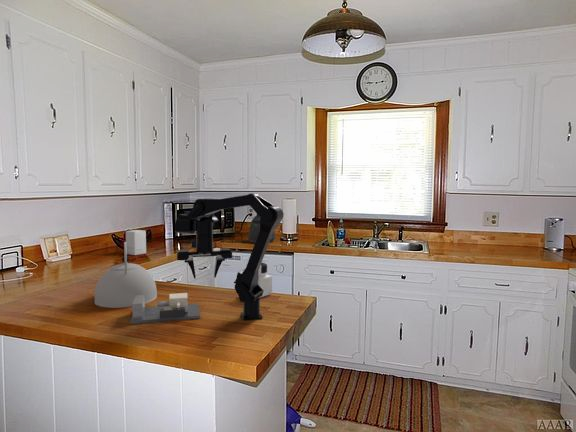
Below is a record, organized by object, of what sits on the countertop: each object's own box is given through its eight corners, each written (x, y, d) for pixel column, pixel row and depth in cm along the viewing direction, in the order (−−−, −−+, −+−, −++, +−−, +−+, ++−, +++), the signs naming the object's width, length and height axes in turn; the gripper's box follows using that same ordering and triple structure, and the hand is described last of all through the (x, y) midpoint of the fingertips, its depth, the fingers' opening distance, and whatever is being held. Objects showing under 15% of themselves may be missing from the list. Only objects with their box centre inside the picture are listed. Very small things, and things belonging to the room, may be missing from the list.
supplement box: (146, 253, 251) (146, 230, 250) (134, 255, 243) (134, 231, 242) (137, 252, 256) (137, 229, 254) (125, 254, 248) (125, 230, 247)
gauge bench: (200, 318, 130) (200, 300, 130) (130, 324, 124) (129, 306, 124) (198, 305, 144) (198, 290, 143) (135, 310, 138) (134, 294, 137)
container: (258, 290, 165) (258, 260, 164) (272, 294, 160) (272, 263, 159) (245, 294, 159) (245, 263, 158) (259, 298, 154) (259, 266, 153)
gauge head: (188, 315, 130) (187, 300, 129) (156, 317, 127) (156, 302, 127) (187, 306, 139) (187, 292, 138) (158, 308, 136) (157, 294, 136)
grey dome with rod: (96, 292, 160) (94, 238, 159) (154, 287, 169) (153, 236, 167) (92, 311, 137) (90, 248, 136) (159, 303, 146) (158, 244, 144)
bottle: (266, 244, 291) (267, 204, 289) (247, 243, 297) (247, 204, 295) (276, 241, 308) (276, 203, 306) (257, 240, 314) (257, 203, 311)
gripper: (228, 231, 146) (228, 271, 147) (177, 232, 141) (177, 274, 142) (232, 234, 135) (232, 278, 136) (176, 236, 130) (177, 281, 131)
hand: (204, 278), depth 137 cm, fingers open, 7 cm apart
